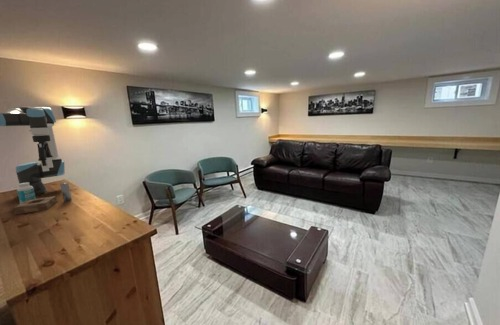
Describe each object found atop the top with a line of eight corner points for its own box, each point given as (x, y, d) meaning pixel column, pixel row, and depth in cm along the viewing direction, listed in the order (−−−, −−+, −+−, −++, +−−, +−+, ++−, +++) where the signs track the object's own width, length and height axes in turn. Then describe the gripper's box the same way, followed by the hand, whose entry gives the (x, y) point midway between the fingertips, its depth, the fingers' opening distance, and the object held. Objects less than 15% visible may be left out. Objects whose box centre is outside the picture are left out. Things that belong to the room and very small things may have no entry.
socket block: (28, 205, 131) (27, 199, 131) (57, 201, 137) (55, 195, 136) (15, 214, 119) (13, 207, 118) (47, 209, 124) (45, 203, 124)
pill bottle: (28, 204, 133) (22, 184, 130) (16, 205, 133) (11, 185, 130) (39, 200, 140) (35, 181, 137) (29, 200, 140) (24, 181, 138)
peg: (65, 200, 139) (61, 183, 137) (72, 199, 141) (69, 182, 139) (62, 202, 136) (59, 184, 134) (70, 200, 137) (66, 183, 135)
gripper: (37, 134, 132) (44, 167, 136) (26, 136, 112) (35, 173, 116) (52, 134, 137) (59, 165, 141) (44, 135, 117) (52, 171, 121)
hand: (48, 169), depth 128 cm, fingers open, 13 cm apart
